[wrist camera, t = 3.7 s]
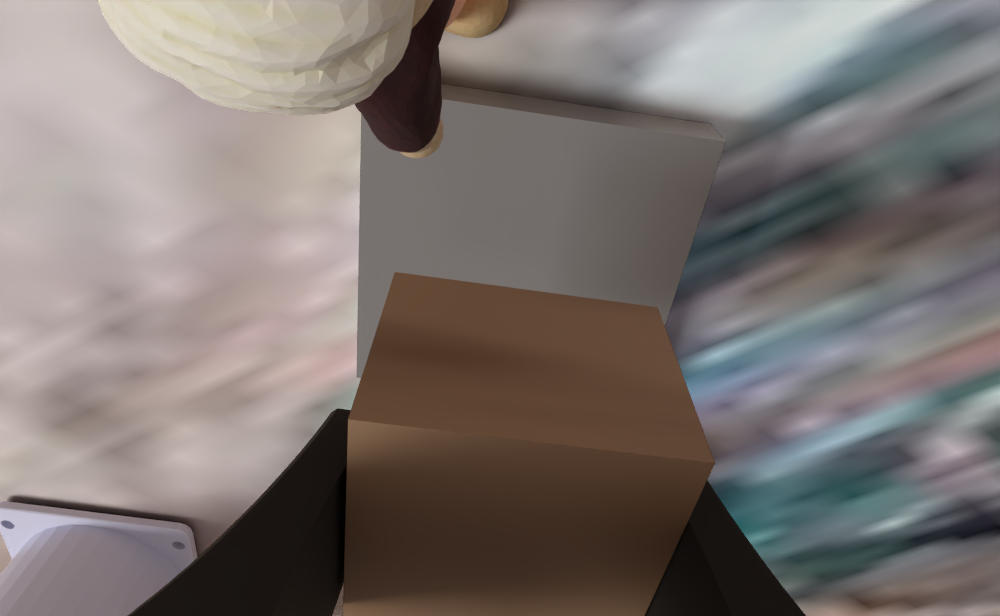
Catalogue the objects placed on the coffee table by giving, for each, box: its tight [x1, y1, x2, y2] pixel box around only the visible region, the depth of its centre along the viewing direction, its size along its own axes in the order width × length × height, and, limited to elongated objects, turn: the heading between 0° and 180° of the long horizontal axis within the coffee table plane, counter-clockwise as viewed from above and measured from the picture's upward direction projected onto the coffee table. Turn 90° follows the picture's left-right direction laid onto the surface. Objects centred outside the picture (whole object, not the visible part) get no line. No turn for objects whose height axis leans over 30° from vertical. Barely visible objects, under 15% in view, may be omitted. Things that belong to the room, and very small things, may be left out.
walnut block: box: [343, 272, 715, 616], centre depth 12 cm, size 5×5×4 cm
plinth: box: [357, 84, 726, 378], centre depth 19 cm, size 9×9×2 cm
